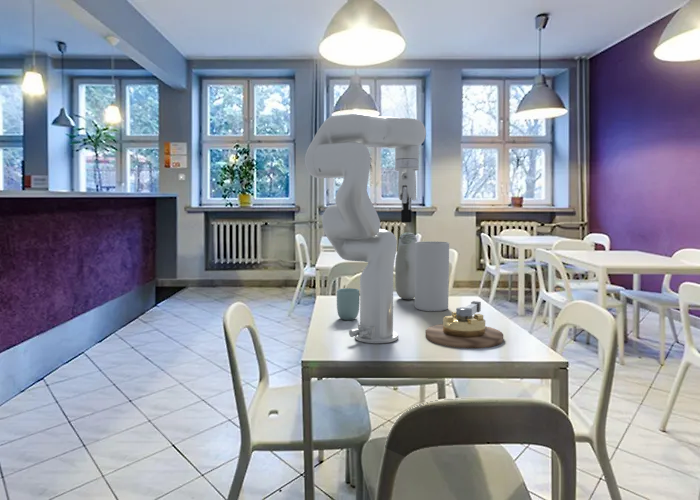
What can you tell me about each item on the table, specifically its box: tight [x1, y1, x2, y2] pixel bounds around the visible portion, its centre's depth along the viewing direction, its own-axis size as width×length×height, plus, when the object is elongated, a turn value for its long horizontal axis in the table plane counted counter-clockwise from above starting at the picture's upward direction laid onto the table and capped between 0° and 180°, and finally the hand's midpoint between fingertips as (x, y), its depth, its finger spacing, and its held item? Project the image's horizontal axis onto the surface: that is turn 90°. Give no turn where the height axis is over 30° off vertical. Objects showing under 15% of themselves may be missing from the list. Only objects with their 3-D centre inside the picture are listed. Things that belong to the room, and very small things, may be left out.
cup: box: [336, 287, 360, 321], centre depth 161 cm, size 8×8×10 cm
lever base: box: [425, 323, 504, 349], centre depth 137 cm, size 22×22×2 cm
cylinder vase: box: [414, 241, 450, 312], centre depth 177 cm, size 12×12×25 cm
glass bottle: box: [394, 231, 418, 300], centre depth 196 cm, size 10×10×28 cm
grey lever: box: [442, 300, 486, 337], centre depth 140 cm, size 20×12×7 cm, turn 150°
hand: (406, 222), depth 154 cm, fingers closed
